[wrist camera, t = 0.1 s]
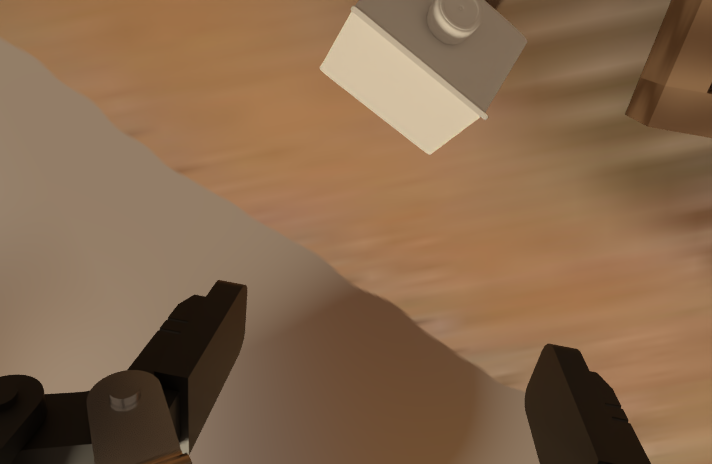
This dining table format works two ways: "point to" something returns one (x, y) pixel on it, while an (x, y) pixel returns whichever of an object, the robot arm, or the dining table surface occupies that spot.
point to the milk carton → (424, 63)
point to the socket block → (678, 72)
